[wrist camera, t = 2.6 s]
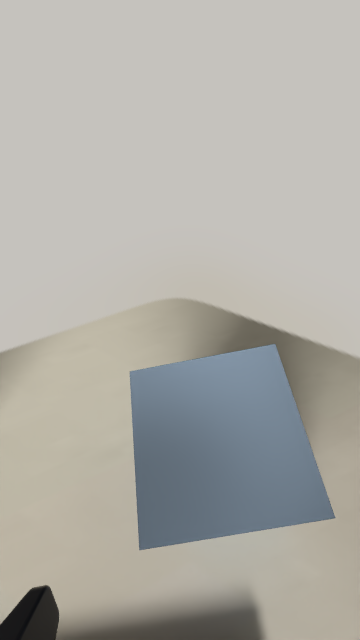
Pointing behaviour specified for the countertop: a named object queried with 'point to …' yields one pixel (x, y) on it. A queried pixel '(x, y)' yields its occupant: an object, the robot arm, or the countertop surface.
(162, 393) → the blue block
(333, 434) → the countertop surface
